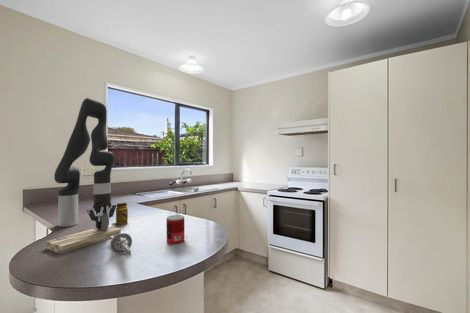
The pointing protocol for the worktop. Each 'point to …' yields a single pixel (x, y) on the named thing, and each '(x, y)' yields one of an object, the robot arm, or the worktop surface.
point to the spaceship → (121, 243)
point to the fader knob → (104, 222)
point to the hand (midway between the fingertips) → (102, 227)
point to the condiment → (121, 215)
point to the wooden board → (80, 239)
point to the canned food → (175, 229)
